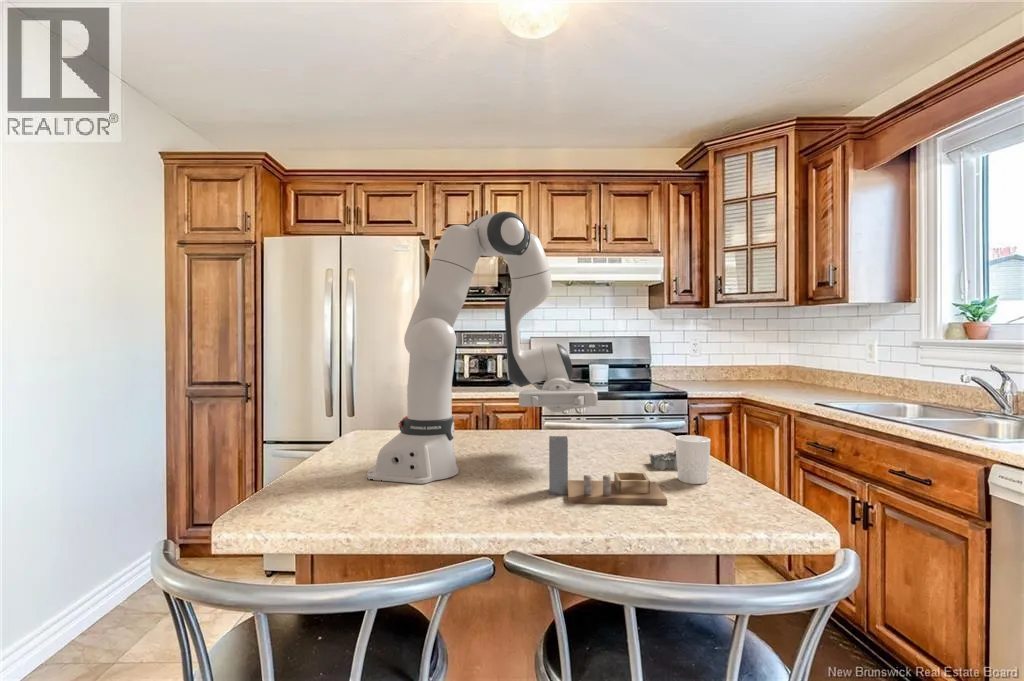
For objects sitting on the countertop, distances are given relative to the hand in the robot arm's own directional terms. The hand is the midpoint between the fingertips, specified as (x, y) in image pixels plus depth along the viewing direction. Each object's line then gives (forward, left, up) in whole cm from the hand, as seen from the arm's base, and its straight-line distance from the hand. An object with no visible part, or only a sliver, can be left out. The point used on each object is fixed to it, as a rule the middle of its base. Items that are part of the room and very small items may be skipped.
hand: (558, 402), depth 124 cm
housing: (+12, -13, -18) cm, 25 cm away
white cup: (+32, -1, -18) cm, 37 cm away
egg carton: (+30, +11, -19) cm, 37 cm away
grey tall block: (0, -12, -18) cm, 22 cm away
